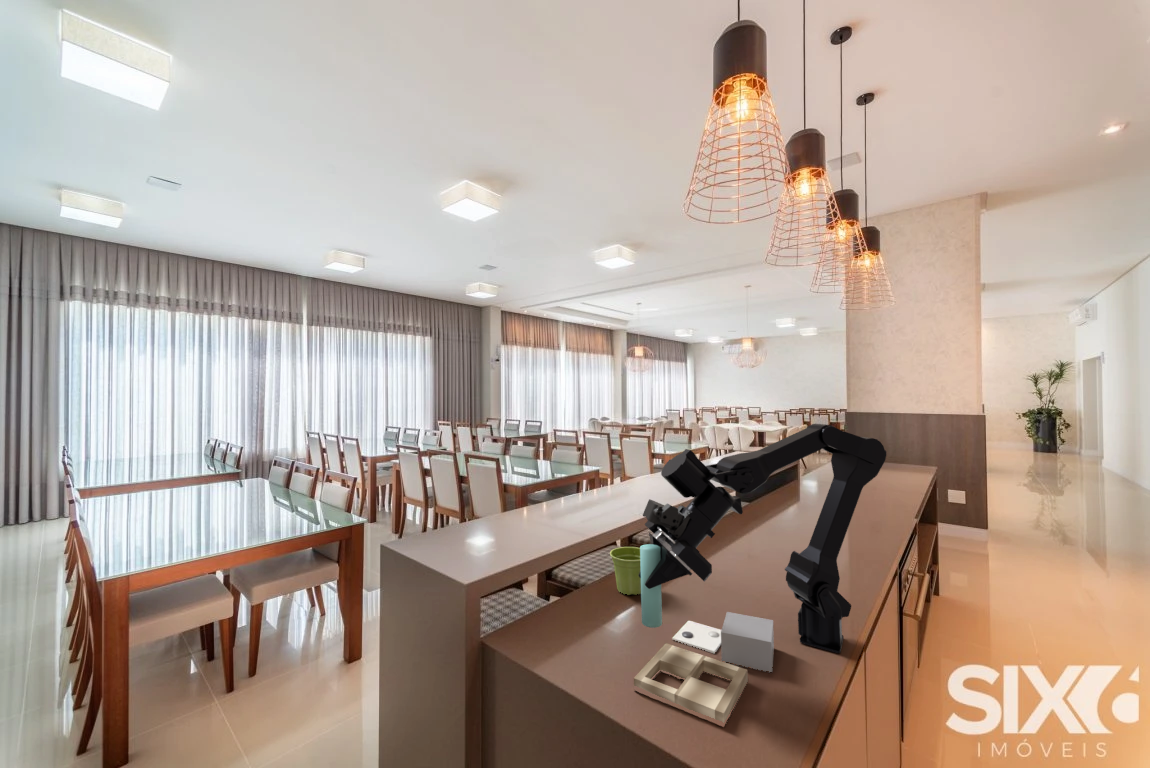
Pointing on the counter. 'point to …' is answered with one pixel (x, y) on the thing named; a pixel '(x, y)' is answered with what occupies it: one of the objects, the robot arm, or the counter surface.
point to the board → (694, 681)
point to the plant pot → (627, 569)
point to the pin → (651, 597)
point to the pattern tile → (699, 636)
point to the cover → (748, 641)
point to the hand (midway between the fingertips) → (643, 582)
